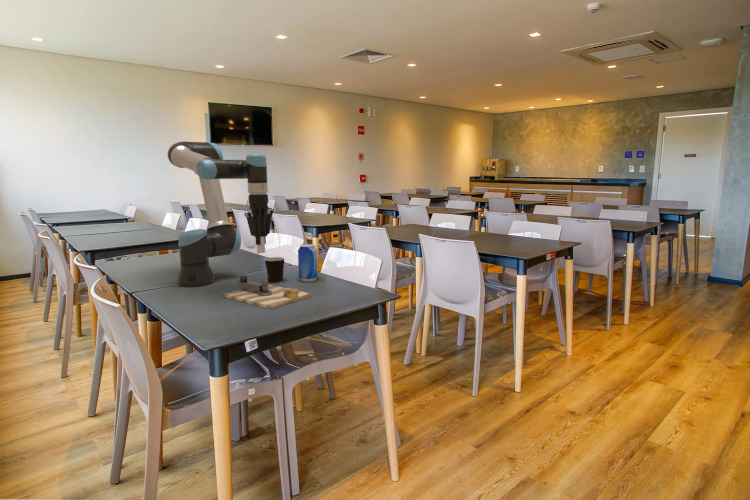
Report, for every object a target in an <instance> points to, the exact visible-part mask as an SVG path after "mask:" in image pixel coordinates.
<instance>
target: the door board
mask: <svg viewBox="0 0 750 500" xmlns="http://www.w3.org/2000/svg"><path fill="white" fill-rule="evenodd" d="M261 284H262V291H261V292H258V291H253V290H249V289H245V288H242V289H241V288H240V289H239V290H234V291H231V292H227V293H224V294H223V297H224V298H226V299H229V300H234V301H238V302H241V303H245V304H250V305H253V306H257V307H260V308H265V309H269V310H274V309H275V310H276V309H278V308H280V307H284V306H288V305H289V304H293V303H296V302H299V301H302V300H304V299H308V298H310V297H312V293H310V292H305V291H301V290H299V289H298V288H293V287H282V286H276V285H273V284H269V281H268V278H267V279H265V278H264V279H262V280H261Z"/></svg>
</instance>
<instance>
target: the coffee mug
mask: <svg viewBox="0 0 750 500" xmlns="http://www.w3.org/2000/svg"><path fill="white" fill-rule="evenodd" d="M264 262H265V270H266V275H267V280H268V283H281V282H283V281H284V268H285V257H280V256H278V257H277V256H275V257H274V256H273V257H267V258H265V259H264Z"/></svg>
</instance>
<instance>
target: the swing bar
mask: <svg viewBox="0 0 750 500" xmlns="http://www.w3.org/2000/svg"><path fill="white" fill-rule="evenodd" d="M236 287H237V288H240V289H241V288H242V289H249V290H253V291H258V292H261V291H262V282H261V283H260V282H257V281H251V280H248V276H247V275H241V276H239V280H237V281H236Z"/></svg>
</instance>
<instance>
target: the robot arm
mask: <svg viewBox="0 0 750 500" xmlns="http://www.w3.org/2000/svg"><path fill="white" fill-rule="evenodd" d="M167 159H168V161H169V163H171V164H172V165H173V166H175V167H177V168H180V169H188V170H191V171H192V172H194V174H196V175H197V176H198V178H199V183H200V187H201V192H202V197H203V201H204V202H203V203H204V207H205V210H206V216H207V220H208V224H209V225H208V226H207V227H206V229H203V228H199V229H191V230H187V231H184V232H181V233H180V234H179V235H178V251H179V260H180V261H179V262H180V269H179V274H178V276H177V284H178V286H179V287H184V288H185V287H188V288H191V287H193V288H194V287H201V286H208V285H210V284H213V283H214V282H215V275H214V273H213V270H212V268H211V266H210V260H209V259H210V258H216V257H223V256H230V255H234V254H237V253H238V252H239V250H240V248H241V244H242V236H241V233H240V231H239V230H238V229H237V228H234V224H232V223H231V222H229V217H228V213H227V208H226V205H225V204H226V203H225V199H224V195H223V190H222V186H221V185H222V184H221V180H239V179H240V180H245V179H247V192H248V203H249V209H248V211H245V212H244V216H245V218H246V221H247V224H248V229H249V232H250V236H252V237H255V238H254V239H255V245H256V246H257V247H256V250H257V251H256V252H257V253H259V254H265V253H266V244H267V241H266V237H268V235H270V233H271V225H272V217H273V214H274V210H273V209H270V208H269V206H268V204H269V195H268V192H269V190H268V164H267V158H266V155H265V154H263V153H248V154H246V159H224V155H223V151H222V149H221V147H220V146H219V145H217V143H214V142H208V141H205V142H204V141H203V142H202V141H187V140H186V141H178V142H175V143H173V144H172V145H171V146H170V147H169V148H168V150H167Z"/></svg>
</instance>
